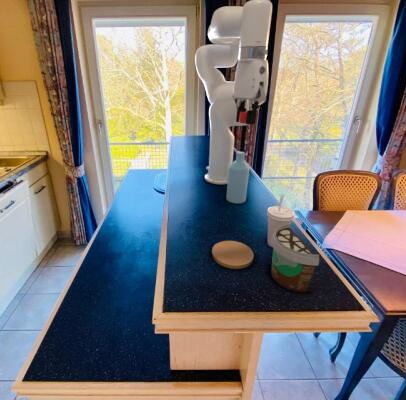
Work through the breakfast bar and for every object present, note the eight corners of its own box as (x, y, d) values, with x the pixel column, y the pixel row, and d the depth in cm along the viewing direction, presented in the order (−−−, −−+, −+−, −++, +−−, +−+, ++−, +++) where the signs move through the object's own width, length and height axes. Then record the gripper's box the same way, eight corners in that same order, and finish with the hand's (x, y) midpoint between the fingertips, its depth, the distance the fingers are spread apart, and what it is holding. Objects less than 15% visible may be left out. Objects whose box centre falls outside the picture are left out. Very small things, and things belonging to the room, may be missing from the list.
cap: (254, 123, 81) (256, 112, 79) (244, 123, 79) (246, 113, 78) (245, 121, 84) (247, 111, 83) (236, 121, 82) (237, 111, 81)
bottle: (222, 197, 96) (226, 151, 88) (237, 193, 98) (242, 149, 91) (234, 204, 90) (238, 156, 83) (249, 200, 93) (255, 153, 86)
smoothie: (257, 240, 71) (264, 192, 65) (276, 235, 73) (284, 188, 67) (273, 253, 66) (282, 203, 60) (293, 247, 68) (304, 198, 62)
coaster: (204, 250, 67) (204, 246, 67) (236, 240, 71) (236, 236, 71) (227, 274, 59) (228, 270, 59) (262, 261, 63) (262, 257, 62)
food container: (257, 259, 63) (263, 223, 59) (282, 258, 64) (289, 222, 60) (279, 299, 52) (288, 258, 48) (309, 297, 53) (321, 256, 48)
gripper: (285, 53, 68) (274, 126, 76) (243, 57, 82) (238, 118, 90) (263, 52, 65) (254, 128, 73) (223, 56, 79) (219, 120, 87)
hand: (245, 122), depth 81 cm, fingers closed on cap, 3 cm apart
